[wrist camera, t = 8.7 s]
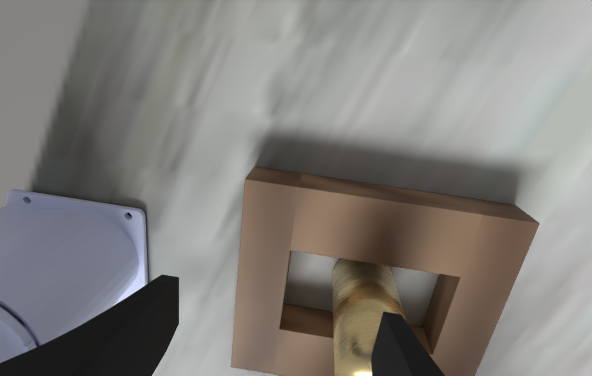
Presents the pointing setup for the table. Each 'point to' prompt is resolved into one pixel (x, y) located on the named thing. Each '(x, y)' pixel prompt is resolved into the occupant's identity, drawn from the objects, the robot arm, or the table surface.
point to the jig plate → (373, 249)
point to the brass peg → (360, 312)
